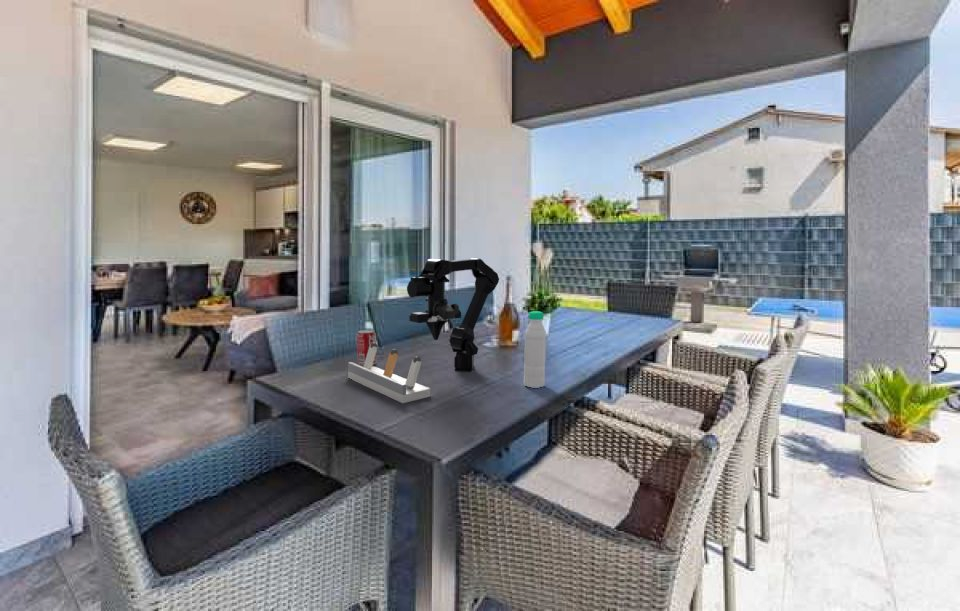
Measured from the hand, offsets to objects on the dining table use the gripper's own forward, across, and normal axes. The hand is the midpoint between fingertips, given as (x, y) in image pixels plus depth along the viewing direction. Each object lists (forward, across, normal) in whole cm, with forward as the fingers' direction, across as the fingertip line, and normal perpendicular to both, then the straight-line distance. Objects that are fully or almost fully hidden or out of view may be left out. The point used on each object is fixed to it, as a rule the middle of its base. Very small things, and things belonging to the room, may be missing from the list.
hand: (435, 339), depth 172 cm
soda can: (+13, -11, +29) cm, 34 cm away
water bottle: (+13, +18, -30) cm, 38 cm away
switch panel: (+13, -20, 0) cm, 24 cm away
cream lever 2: (+10, -20, -13) cm, 26 cm away
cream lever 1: (+10, -20, +13) cm, 26 cm away
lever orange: (+10, -20, 0) cm, 22 cm away
